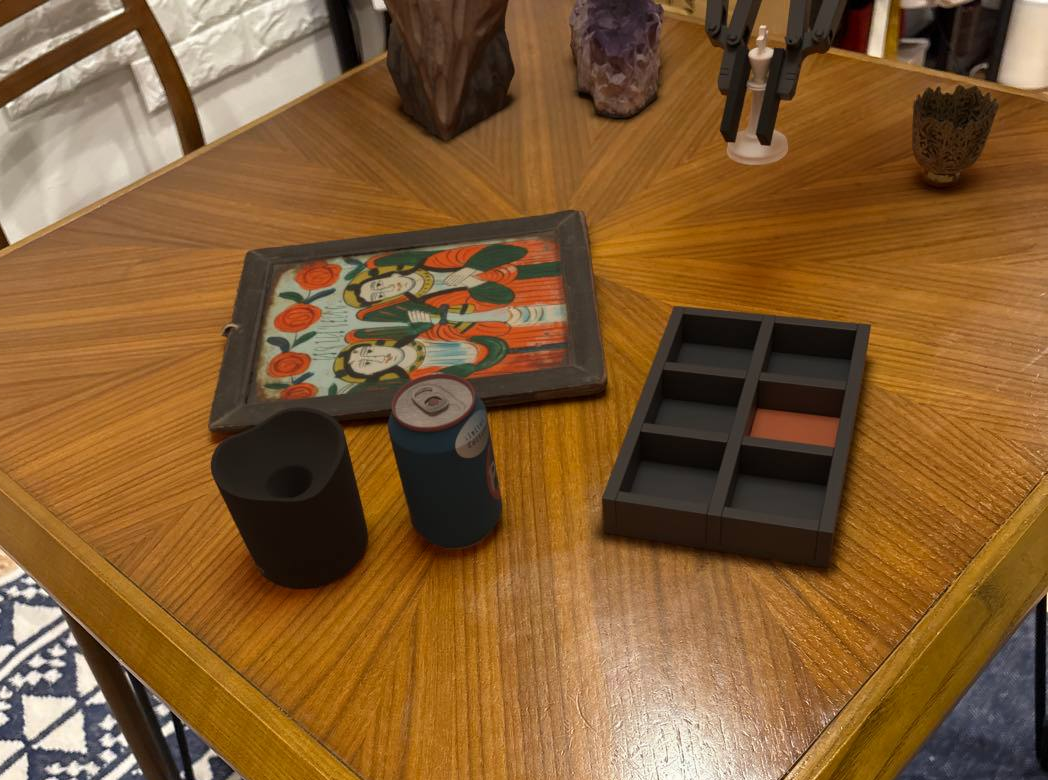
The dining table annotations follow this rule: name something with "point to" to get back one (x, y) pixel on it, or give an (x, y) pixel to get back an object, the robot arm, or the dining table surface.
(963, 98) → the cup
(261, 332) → the painting
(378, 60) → the dining table surface
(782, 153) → the chess piece
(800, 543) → the grid
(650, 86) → the geode
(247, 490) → the pen holder
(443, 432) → the soda can
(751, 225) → the dining table surface
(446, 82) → the owl
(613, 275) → the dining table surface
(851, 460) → the dining table surface
